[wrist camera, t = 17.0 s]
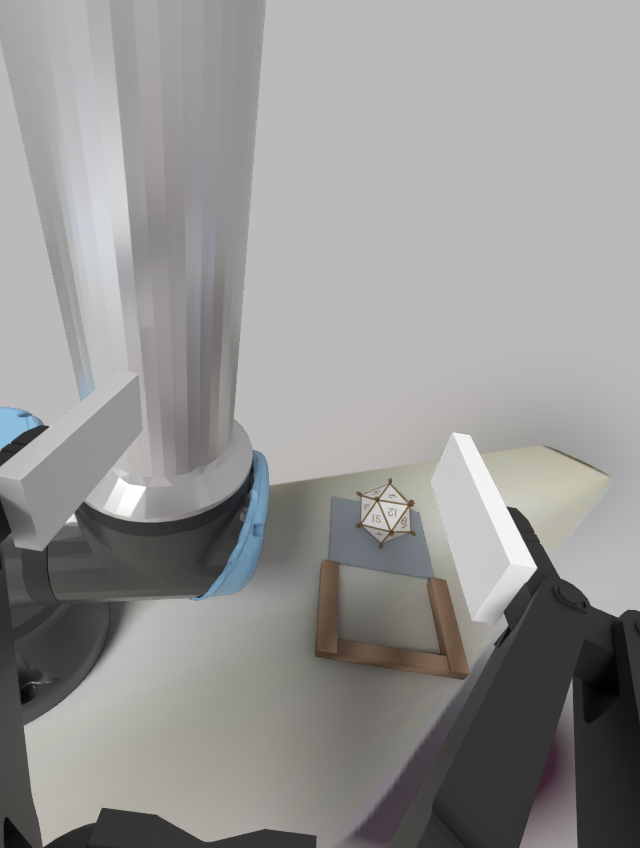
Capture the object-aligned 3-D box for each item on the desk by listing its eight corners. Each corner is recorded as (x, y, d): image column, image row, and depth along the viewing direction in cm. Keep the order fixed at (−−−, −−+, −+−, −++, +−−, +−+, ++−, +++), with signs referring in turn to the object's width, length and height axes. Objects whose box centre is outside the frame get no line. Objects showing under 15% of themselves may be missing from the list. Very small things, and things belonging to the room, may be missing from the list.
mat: (328, 562, 50) (329, 560, 50) (331, 498, 60) (332, 496, 60) (432, 579, 51) (434, 577, 50) (418, 514, 61) (419, 512, 61)
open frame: (314, 656, 40) (317, 648, 39) (320, 567, 49) (323, 559, 48) (464, 679, 40) (469, 672, 40) (441, 587, 50) (445, 580, 49)
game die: (365, 539, 59) (374, 474, 60) (420, 554, 54) (429, 483, 55) (338, 545, 51) (349, 470, 52) (399, 563, 47) (410, 481, 48)
